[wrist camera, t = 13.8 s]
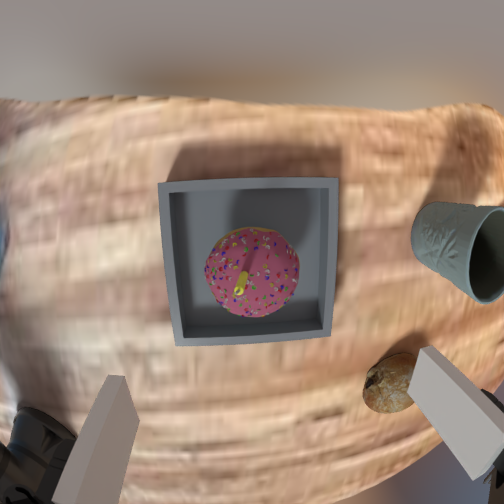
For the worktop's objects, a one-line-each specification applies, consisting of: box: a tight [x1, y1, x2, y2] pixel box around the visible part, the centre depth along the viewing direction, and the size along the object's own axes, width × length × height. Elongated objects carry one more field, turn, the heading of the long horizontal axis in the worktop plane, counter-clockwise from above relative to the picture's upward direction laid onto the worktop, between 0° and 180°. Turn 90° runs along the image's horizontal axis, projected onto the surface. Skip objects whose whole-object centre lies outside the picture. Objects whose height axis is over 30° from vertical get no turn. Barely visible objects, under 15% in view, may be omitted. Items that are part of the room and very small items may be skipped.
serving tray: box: [158, 177, 338, 346], centre depth 30 cm, size 17×17×4 cm
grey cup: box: [411, 202, 504, 304], centre depth 27 cm, size 10×10×12 cm
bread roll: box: [363, 353, 417, 414], centre depth 36 cm, size 10×10×8 cm
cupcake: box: [204, 227, 300, 317], centre depth 25 cm, size 9×8×12 cm
